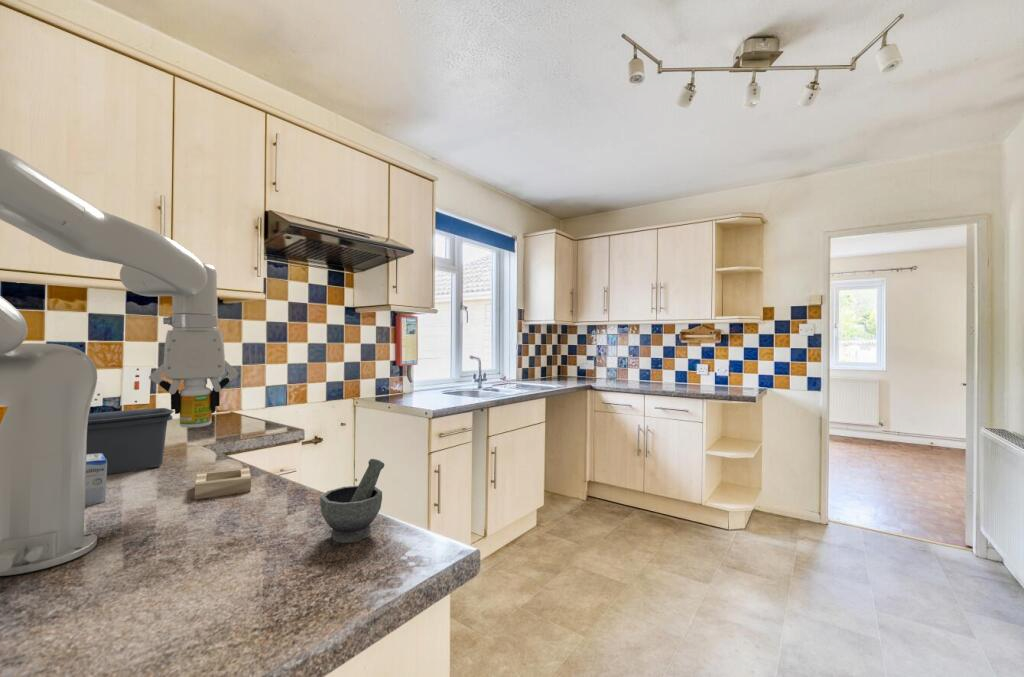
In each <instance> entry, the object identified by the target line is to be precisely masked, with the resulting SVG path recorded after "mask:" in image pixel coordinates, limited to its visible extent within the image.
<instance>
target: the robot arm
mask: <svg viewBox="0 0 1024 677" xmlns="http://www.w3.org/2000/svg"><path fill="white" fill-rule="evenodd" d="M0 220H1V221H3V222H4V223H7V224H9V225H11V226H13V227H15V228H17V229H18V230H21V231H22V232H24V233H26V234H28V235H30V236H32V237H34V238H36V239H37V240H39V241H41V242H43V243H45V244H47V245H49V246H51V247H52V248H54V249H56V250H58V251H60V252H63V253H66V254H70V255H72V256H76V257H80V258H85V259H90V260H93V261H94V260H96V261H103V262H109V263H113V264H119V265H122V266H121V268H120V271H119V278H120V282H121V283H122V284H123V286H124V287H125V288H126V289H127V290H129V291H130V292H132V293H133V294H137V295H139V296H142V297H143V296H144V297H171V304H172V310H171V312H172V314H171V315H170V316H168V317H163V319H162V323H163V325H167V326H168V325H169V326H171V327H172V329H169V330H167V333H166V336H165V342H164V350H163V351H164V352H163V353H164V355H163V363H161V364H160V366H158V367H157V368H156V369H155V370H154V371H153V372H152V373H150V375H149V376H148V379H149V380H151V381H152V382H154V383H155V384H157V385H158V386H160V387H161V388H162V389H164V390H165V391H166V392H168V394H170V410H173V411H174V414H175V415H178V414H180V390H179V387H180V384H181V382H182V381H184V380H189V379H207V380H208V379H209V381H210V383H211V385H212V390H211V410H212V412H216V411H217V410H216V409H217V407H220V406H221V404H220V403H221V402H220V400H221V398H220V396H221V394H220V392H221V390H222V389H223V388H225V386H226V385H228V384H229V383H231V382H232V381H233V380H234V379H235V378H236V377H238V376H239V371H238V370H236V369H235V368H234V367H233V366H232V365H231V364H230V363H229V362H227V361H226V358H225V357H226V356H225V355H226V354H225V344H224V336H223V332H222V330H218V304H217V303H218V300H217V299H218V298H217V297H218V295H217V294H218V292H217V291H218V286H217V284H218V283H217V281H218V280H217V278H218V276H217V275H218V274H217V270H216V268H215V267H214V266H213V265H212V264H209V263H204V262H202V261H201V260H200V259H199V258H198V257H197V256H195V255H194V254H193V253H192V252H190V251H189V250H187V249H185V247H183V246H182V245H180V244H178V243H177V242H176V241H174V240H172V239H171V238H170V237H169V238H168V237H167V236H165V235H163V234H161V233H159V232H156V231H154V230H152V229H149V228H147V227H144V226H141V225H139V224H137V223H135V222H132V221H130V220H127V219H124V218H122V217H120V216H119V217H118V216H116V215H113V214H111V213H108V212H105V211H103V210H101V209H99V208H98V207H96V206H94V205H93V204H91V203H90V202H88V201H86V200H85V199H83V198H82V197H80V196H79V195H77V194H75V193H74V192H73V191H71V190H69V189H68V188H67V187H65V186H63V185H62V184H60V183H59V182H57V181H55V180H54V179H53V178H51V177H49V176H48V175H46V174H45V173H44V172H42V171H40V170H39V169H38V168H35V167H34V166H33V165H31V164H30V163H28V162H26V161H25V160H23V159H22V158H20V157H19V156H17V155H16V154H13V153H12V152H9V151H6V149H2V148H0ZM28 331H29V330H28V324H27V322H26V320H25V317H24V316H23V314H22V312H20V311H19V310H18V309H17V308H16V307H15V306H14V305H13V304H12V303H11V302H9V301H8V300H7V299H5V298H4V297H3V296H2V295H0V406H1V407H7V409H6V411H5V413H4V415H3V417H2V419H1V422H0V577H5V576H13V575H19V574H20V575H22V574H27V573H32V572H35V571H36V572H37V571H40V570H44V569H49V568H52V567H55V566H58V565H61V564H65V563H67V562H69V561H70V562H71V561H72V560H75V559H77V558H79V557H81V556H84V555H85V554H87V553H89V552H91V551H92V550H93V549H94V548H95V547H96V546H97V544H98V543H97V542H98V536H97V535H96V534H94V533H92V532H88V531H85V513H86V512H85V511H86V509H85V508H86V506H85V484H86V454H87V425H88V416H89V414H90V410H91V405H92V402H93V398H94V395H95V392H96V391H95V390H96V387H97V383H98V369H97V366H96V364H95V363H94V361H93V360H92V358H91V357H90V356H89V355H88V354H87V353H85V352H84V351H82V350H80V349H78V348H76V347H72V346H69V345H65V344H61V343H60V344H58V343H40V342H39V343H29V342H28V343H24V341H25V340H26V338H27V336H28V333H29V332H28ZM225 371H226V372H228V375H226V376H225V377H224V378H222V379H221V380H219V378H221V377H222V376H223V375H225V374H226V373H225ZM162 374H163V376H164V378H166V379H168V380H170V381H171V380H172V382H171V383H170V382H169V381H167V380H166V379H164V378H163V377H162Z"/></svg>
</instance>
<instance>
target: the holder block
mask: <svg viewBox="0 0 1024 677" xmlns="http://www.w3.org/2000/svg"><path fill="white" fill-rule="evenodd" d="M251 487H252V475H251V471H250V467H249V466H248V467H240V468H230V469H221V470H220V469H219V470H211V471H203V472H197V473H196V479H195V483H194V500H200V499H206V498H215V497H220V496H221V497H222V496H228V495H235V493H237V494H242V492H244V493H249V492H248V491H252V488H251Z"/></svg>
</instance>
